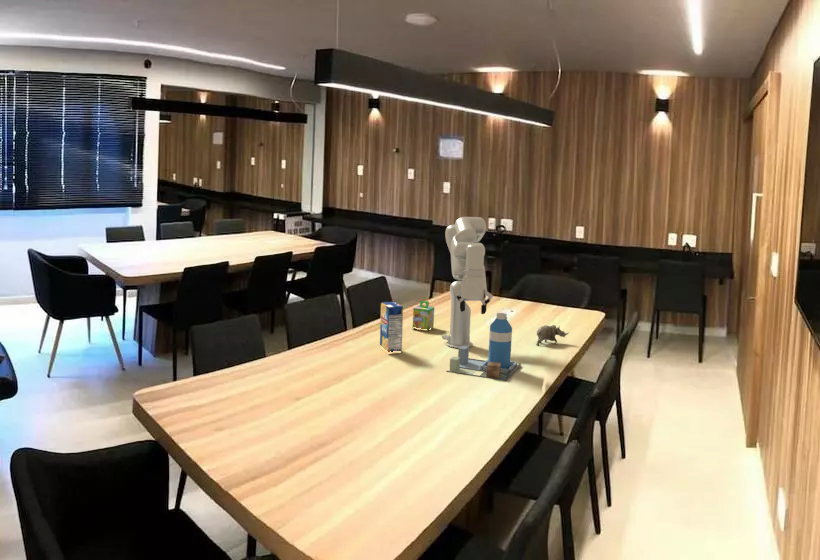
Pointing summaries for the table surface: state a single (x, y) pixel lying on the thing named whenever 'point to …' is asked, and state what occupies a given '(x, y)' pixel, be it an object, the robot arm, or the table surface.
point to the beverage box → (391, 326)
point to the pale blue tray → (478, 362)
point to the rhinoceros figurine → (549, 333)
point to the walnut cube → (493, 369)
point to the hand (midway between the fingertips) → (472, 312)
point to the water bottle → (500, 341)
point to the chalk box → (423, 316)
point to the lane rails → (486, 372)
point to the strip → (458, 366)
